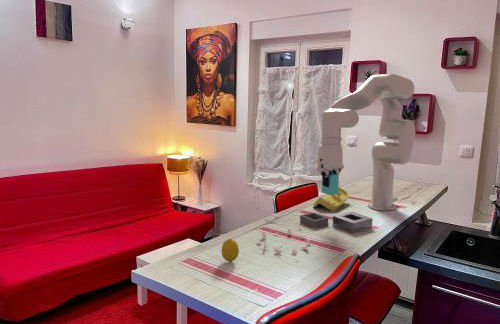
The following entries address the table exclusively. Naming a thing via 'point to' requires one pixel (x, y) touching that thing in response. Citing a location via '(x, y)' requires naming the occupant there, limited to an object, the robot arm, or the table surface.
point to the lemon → (230, 250)
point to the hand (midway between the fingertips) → (330, 185)
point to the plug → (331, 184)
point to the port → (352, 222)
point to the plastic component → (333, 200)
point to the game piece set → (281, 246)
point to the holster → (314, 220)
